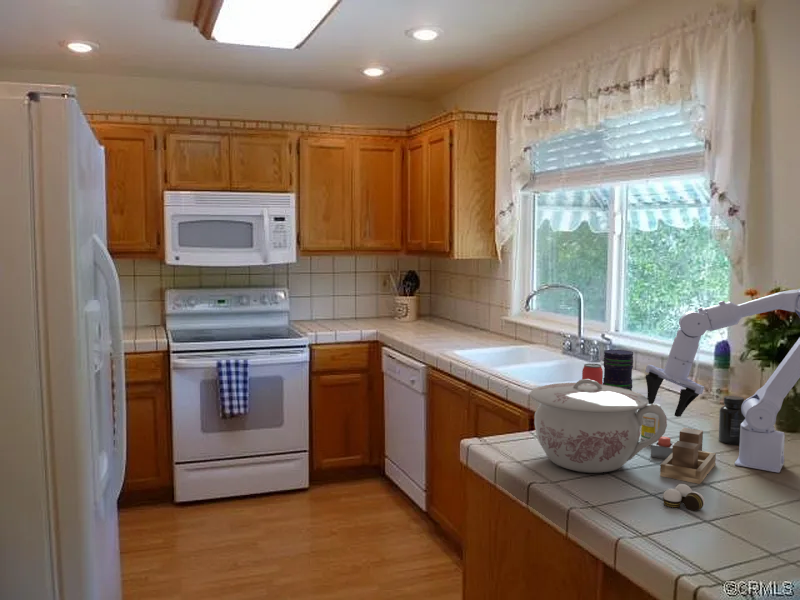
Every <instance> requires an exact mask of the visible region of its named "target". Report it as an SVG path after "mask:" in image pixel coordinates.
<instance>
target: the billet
mask: <svg viewBox="0 0 800 600" xmlns="http://www.w3.org/2000/svg"><path fill="white" fill-rule="evenodd" d="M703 434H704V430H702V429H695V428H689V427H683V428H681V430H679V436H678V437H679V438H678V441H682V442H688V443H694V444H698V450H700V451H703V441H704V439H703Z"/></svg>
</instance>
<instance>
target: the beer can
mask: <svg viewBox="0 0 800 600" xmlns="http://www.w3.org/2000/svg"><path fill="white" fill-rule="evenodd" d="M581 372H582V373H581V377H582V378H581V380H582V379H590V380H594V381H596V382H598V383H599V384H603V378H604V370H603V368H602V365H601V364H599V363H593V362H592V363H585V364H583V367H582V371H581Z"/></svg>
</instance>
